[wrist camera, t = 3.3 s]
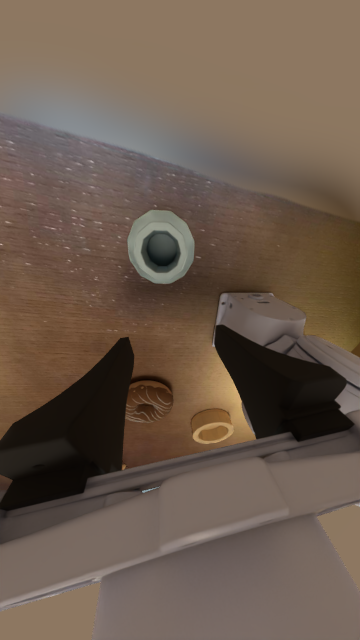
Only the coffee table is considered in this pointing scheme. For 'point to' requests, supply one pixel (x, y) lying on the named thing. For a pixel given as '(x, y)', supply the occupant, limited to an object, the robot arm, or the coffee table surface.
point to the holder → (211, 426)
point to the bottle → (161, 246)
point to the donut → (148, 401)
